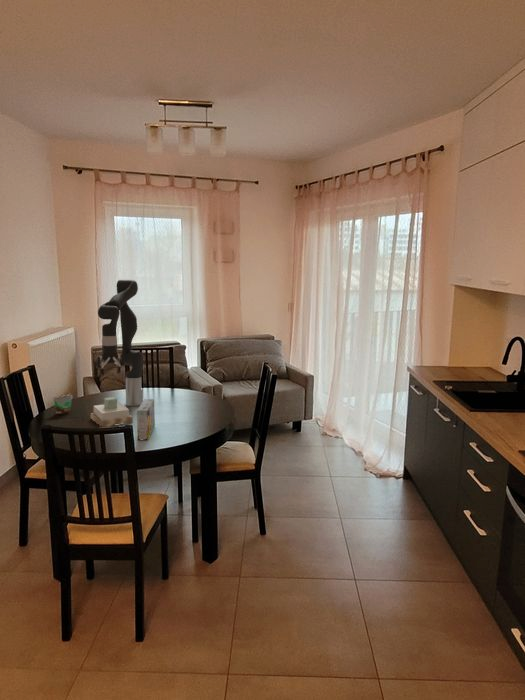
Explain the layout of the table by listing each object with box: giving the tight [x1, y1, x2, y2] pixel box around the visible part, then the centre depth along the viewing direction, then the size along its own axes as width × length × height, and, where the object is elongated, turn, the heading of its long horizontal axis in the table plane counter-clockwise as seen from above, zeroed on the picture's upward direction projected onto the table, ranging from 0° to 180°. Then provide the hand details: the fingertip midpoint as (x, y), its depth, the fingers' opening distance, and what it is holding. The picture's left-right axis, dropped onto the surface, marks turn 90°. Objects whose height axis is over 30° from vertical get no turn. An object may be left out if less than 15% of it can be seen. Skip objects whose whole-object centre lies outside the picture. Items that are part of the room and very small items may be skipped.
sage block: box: [103, 396, 118, 409], centre depth 241 cm, size 5×5×5 cm
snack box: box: [136, 398, 156, 440], centre depth 224 cm, size 21×6×15 cm, turn 5°
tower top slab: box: [93, 402, 130, 421], centre depth 242 cm, size 14×16×4 cm
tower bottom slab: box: [90, 412, 134, 428], centre depth 242 cm, size 16×18×4 cm
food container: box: [53, 392, 73, 415], centre depth 253 cm, size 12×6×10 cm, turn 168°
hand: (110, 374), depth 238 cm, fingers open, 8 cm apart
